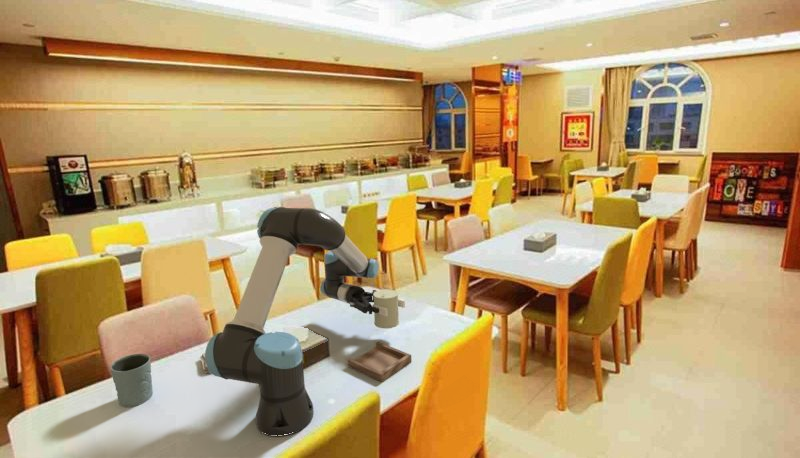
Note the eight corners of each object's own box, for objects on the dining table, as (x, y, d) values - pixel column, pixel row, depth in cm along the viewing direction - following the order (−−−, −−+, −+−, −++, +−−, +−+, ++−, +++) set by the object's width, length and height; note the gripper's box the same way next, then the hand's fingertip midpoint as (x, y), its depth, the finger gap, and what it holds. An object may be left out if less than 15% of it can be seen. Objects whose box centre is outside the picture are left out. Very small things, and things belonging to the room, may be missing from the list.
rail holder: (381, 382, 133) (381, 374, 133) (347, 366, 143) (347, 359, 142) (411, 361, 145) (411, 354, 144) (378, 348, 154) (378, 341, 153)
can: (370, 327, 157) (369, 295, 154) (379, 316, 166) (378, 287, 163) (394, 329, 154) (393, 298, 152) (402, 319, 163) (401, 289, 160)
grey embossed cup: (121, 392, 132) (114, 357, 129) (159, 385, 135) (152, 350, 133) (113, 412, 123) (105, 374, 120) (153, 403, 126) (146, 366, 123)
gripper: (371, 295, 179) (414, 308, 164) (331, 312, 162) (375, 328, 148) (370, 278, 177) (413, 289, 163) (330, 293, 161) (374, 307, 147)
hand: (395, 308), depth 155 cm, fingers closed on can, 9 cm apart
